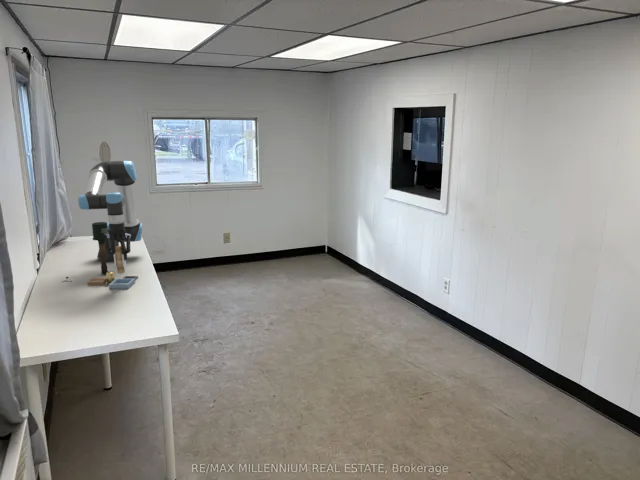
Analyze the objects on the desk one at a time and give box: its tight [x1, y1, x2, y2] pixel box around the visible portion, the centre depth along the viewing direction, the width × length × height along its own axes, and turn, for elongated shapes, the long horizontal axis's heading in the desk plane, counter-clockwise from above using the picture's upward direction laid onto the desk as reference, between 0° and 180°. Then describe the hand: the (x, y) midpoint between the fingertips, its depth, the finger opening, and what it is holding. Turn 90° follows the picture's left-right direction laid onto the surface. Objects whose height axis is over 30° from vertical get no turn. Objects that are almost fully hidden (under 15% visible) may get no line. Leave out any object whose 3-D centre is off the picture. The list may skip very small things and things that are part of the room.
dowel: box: [115, 245, 126, 274], centre depth 251 cm, size 4×4×14 cm
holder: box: [121, 275, 139, 281], centre depth 265 cm, size 7×7×1 cm
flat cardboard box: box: [87, 276, 107, 287], centre depth 259 cm, size 8×8×2 cm
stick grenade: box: [91, 221, 109, 276], centre depth 271 cm, size 8×9×30 cm
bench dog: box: [105, 270, 116, 285], centre depth 259 cm, size 4×4×6 cm
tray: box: [108, 278, 136, 290], centre depth 255 cm, size 10×10×2 cm
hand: (120, 265), depth 252 cm, fingers closed on dowel, 3 cm apart
